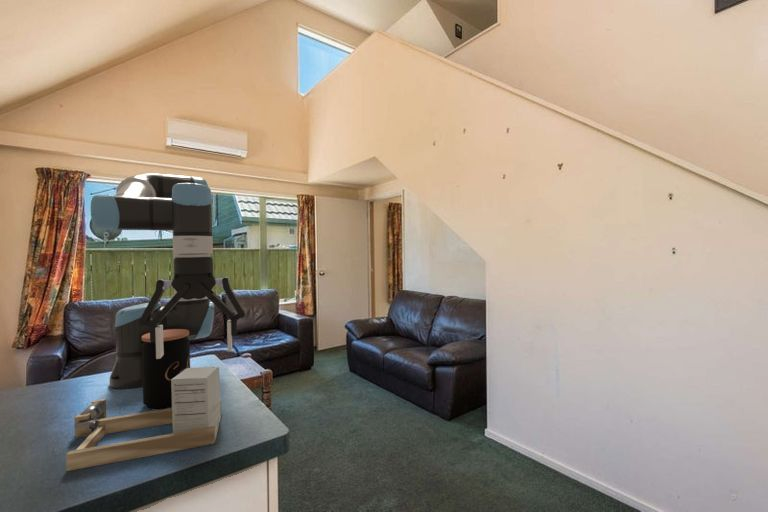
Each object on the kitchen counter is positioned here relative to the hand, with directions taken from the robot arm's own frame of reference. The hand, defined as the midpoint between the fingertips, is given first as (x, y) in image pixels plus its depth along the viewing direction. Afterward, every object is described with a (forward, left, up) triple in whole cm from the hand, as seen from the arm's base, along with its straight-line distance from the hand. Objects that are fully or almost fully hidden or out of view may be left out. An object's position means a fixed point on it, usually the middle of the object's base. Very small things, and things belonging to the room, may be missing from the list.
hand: (196, 353), depth 76 cm
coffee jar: (-20, -10, -17) cm, 28 cm away
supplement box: (0, 0, -17) cm, 17 cm away
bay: (0, -8, -17) cm, 19 cm away
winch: (-9, -22, -17) cm, 29 cm away
